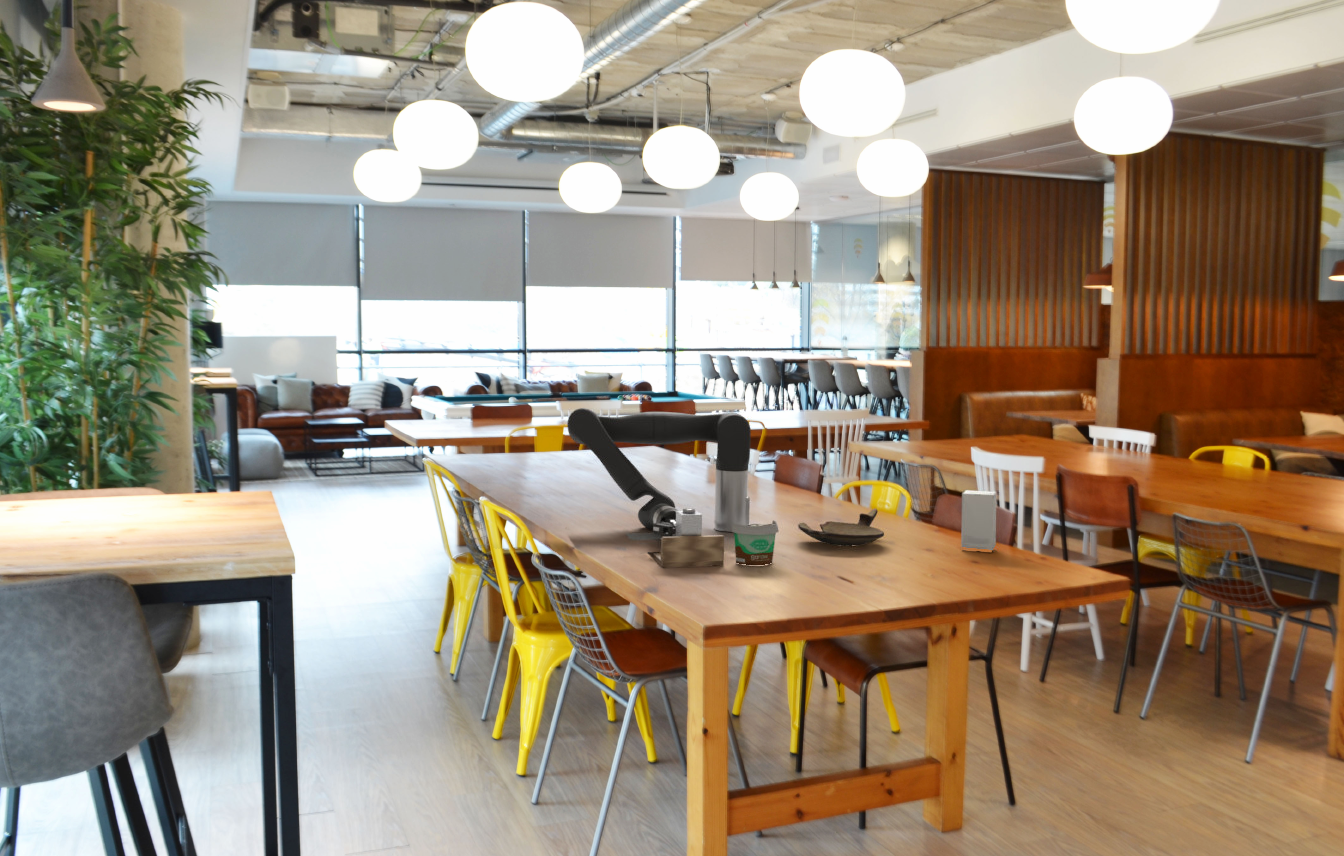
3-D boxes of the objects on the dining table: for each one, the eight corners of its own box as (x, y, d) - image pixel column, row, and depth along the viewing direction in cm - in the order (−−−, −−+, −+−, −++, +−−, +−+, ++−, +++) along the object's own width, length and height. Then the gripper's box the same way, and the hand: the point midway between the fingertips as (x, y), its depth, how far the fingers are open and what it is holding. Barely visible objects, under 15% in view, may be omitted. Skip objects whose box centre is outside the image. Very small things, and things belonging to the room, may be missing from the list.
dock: (703, 549, 271) (703, 521, 270) (723, 565, 252) (724, 536, 251) (646, 551, 267) (646, 523, 266) (662, 567, 249) (663, 537, 248)
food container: (744, 569, 249) (745, 527, 248) (730, 564, 254) (731, 523, 253) (787, 565, 254) (788, 524, 253) (773, 560, 260) (774, 520, 259)
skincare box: (995, 549, 278) (998, 491, 276) (992, 554, 272) (995, 494, 270) (963, 546, 281) (966, 489, 280) (959, 551, 275) (961, 492, 274)
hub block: (694, 554, 259) (695, 507, 258) (701, 559, 253) (702, 511, 252) (675, 555, 257) (676, 507, 256) (680, 560, 252) (681, 511, 251)
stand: (657, 538, 285) (657, 532, 284) (664, 544, 276) (664, 538, 276) (624, 538, 282) (624, 533, 282) (631, 545, 274) (631, 539, 274)
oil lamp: (778, 541, 284) (779, 513, 283) (865, 532, 299) (866, 506, 298) (830, 557, 265) (831, 527, 264) (919, 547, 280) (920, 518, 279)
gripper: (645, 508, 273) (659, 519, 256) (694, 507, 276) (711, 518, 259) (644, 536, 273) (658, 550, 256) (693, 535, 276) (711, 548, 259)
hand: (685, 534), depth 258 cm, fingers closed
